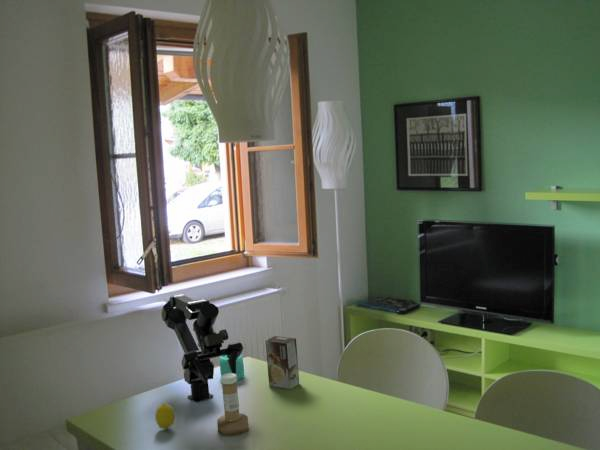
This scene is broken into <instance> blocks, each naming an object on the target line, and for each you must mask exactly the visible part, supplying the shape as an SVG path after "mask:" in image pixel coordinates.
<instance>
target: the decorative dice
mask: <svg viewBox="0 0 600 450" xmlns="http://www.w3.org/2000/svg"><path fill="white" fill-rule="evenodd" d="M243 358H244V357H243V354H241V355H240V356H239V357H238V358H237V360H236V376H237V381H239V380H240V381H241V380H242V379H243V378H244V377H245V367H244V366H245V365H244V359H243ZM228 359H229V358H228V357H227V355H224V356H219V359H218V360H219V370H220V377H221V376H222V375H224V374H227V373H232V371H231V369H230V366H229V363H228Z"/></svg>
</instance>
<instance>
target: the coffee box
mask: <svg viewBox="0 0 600 450" xmlns="http://www.w3.org/2000/svg"><path fill="white" fill-rule="evenodd" d="M297 348H298V347H297V339H296V338H294V337H287V336H286V337H285V336H278V335H277V336H276V335H274V336H272V337H270V338H268V339H267V340H265V353H266V363H267V366H266V367H267V374H268V375H267V376H268V377H267V378H268V386H269V387H274V388H280V389H285V390H292V389H293V388H295V387H297V386H298V385H299V384H300V374H299V373H300V372H299V361H298V349H297Z"/></svg>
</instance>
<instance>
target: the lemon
mask: <svg viewBox="0 0 600 450" xmlns="http://www.w3.org/2000/svg"><path fill="white" fill-rule="evenodd" d="M172 407H173V406H171V405H169V404H166V403H162V404H161V405H159V406H158V407H157V409H156V411H155V421H156V424H157V426H158V427H159V428H160V429H161V428H162V429H164V430H168V429H169V428H170V427H171V426H173V424H174V422H175V418H176V416H175V411H174V409H173V408H172Z"/></svg>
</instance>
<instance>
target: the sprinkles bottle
mask: <svg viewBox="0 0 600 450" xmlns="http://www.w3.org/2000/svg"><path fill="white" fill-rule="evenodd" d="M220 381H221V387H222V399H223V402H222V403H223V409H224V415H225V420H226V421H228V422H234V421H237V420H239V419H240V415H239V413H240V402H239V394H238V384H237V383H238V382H237V381H238V380H237V376H236V374H234V373H227V374H224V375H222V376H221V375H220Z"/></svg>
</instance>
